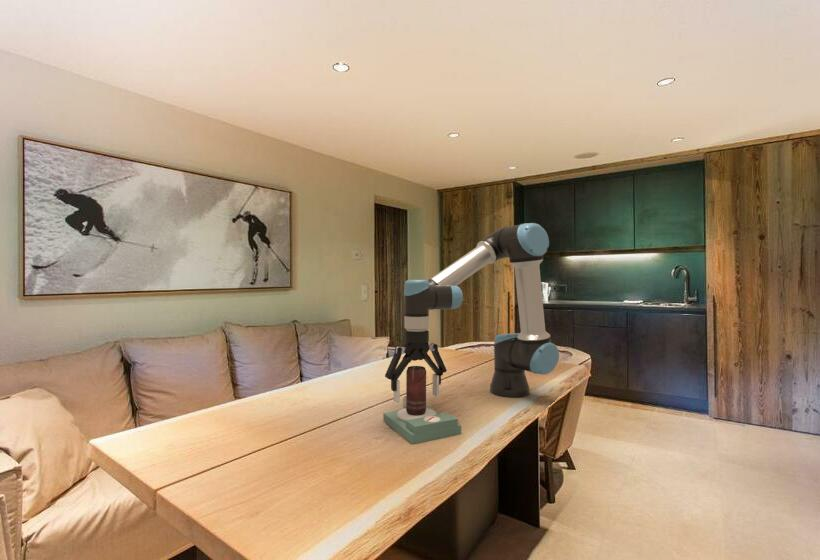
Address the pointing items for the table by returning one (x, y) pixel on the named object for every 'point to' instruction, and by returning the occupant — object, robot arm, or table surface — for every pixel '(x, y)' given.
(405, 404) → the spacer
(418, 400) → the can
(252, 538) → the table surface
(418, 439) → the scale
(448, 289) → the robot arm
